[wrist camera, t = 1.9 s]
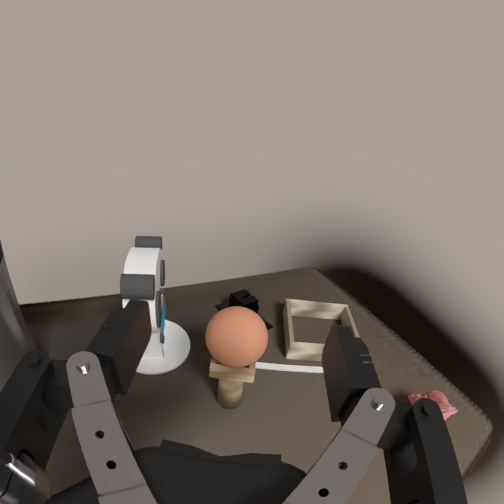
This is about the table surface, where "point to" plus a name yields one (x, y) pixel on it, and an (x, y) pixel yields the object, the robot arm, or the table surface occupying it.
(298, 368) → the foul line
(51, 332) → the table surface
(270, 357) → the table surface
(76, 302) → the table surface
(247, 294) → the black slotted stand
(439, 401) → the flower
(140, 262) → the panda figurine
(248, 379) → the tee
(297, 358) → the corral
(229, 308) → the ball
